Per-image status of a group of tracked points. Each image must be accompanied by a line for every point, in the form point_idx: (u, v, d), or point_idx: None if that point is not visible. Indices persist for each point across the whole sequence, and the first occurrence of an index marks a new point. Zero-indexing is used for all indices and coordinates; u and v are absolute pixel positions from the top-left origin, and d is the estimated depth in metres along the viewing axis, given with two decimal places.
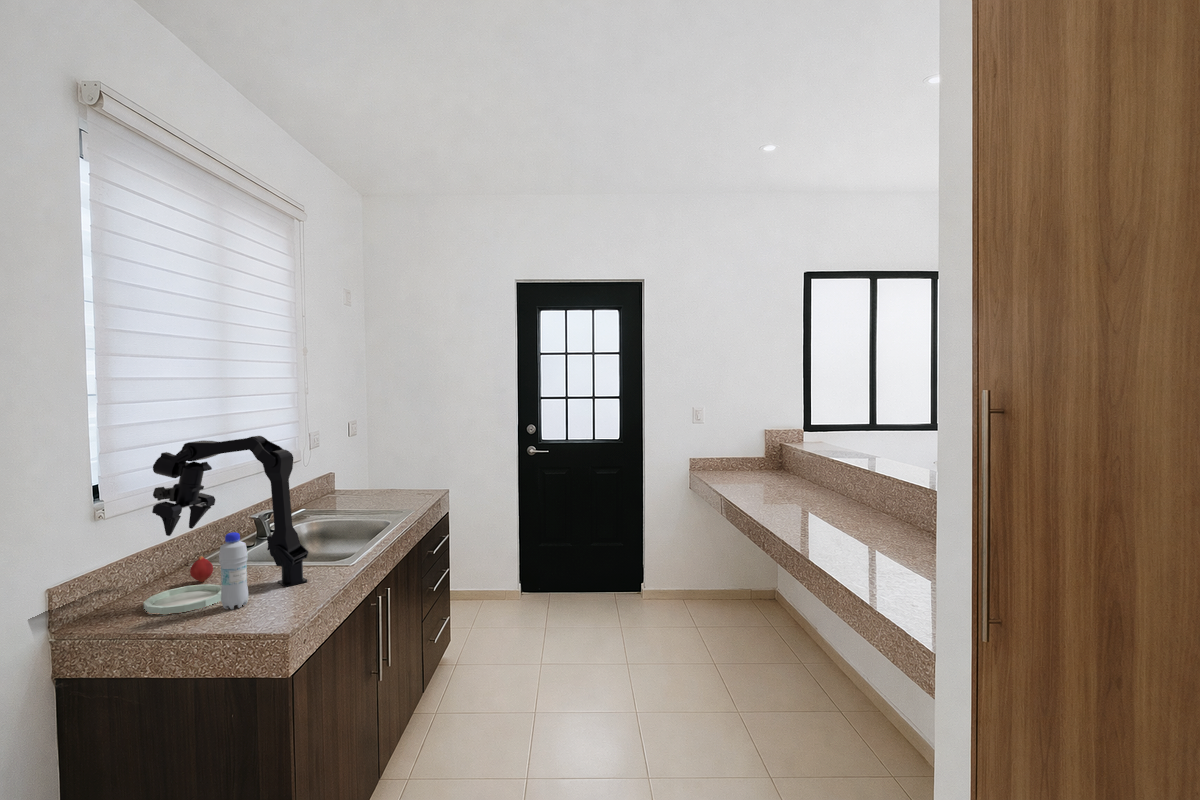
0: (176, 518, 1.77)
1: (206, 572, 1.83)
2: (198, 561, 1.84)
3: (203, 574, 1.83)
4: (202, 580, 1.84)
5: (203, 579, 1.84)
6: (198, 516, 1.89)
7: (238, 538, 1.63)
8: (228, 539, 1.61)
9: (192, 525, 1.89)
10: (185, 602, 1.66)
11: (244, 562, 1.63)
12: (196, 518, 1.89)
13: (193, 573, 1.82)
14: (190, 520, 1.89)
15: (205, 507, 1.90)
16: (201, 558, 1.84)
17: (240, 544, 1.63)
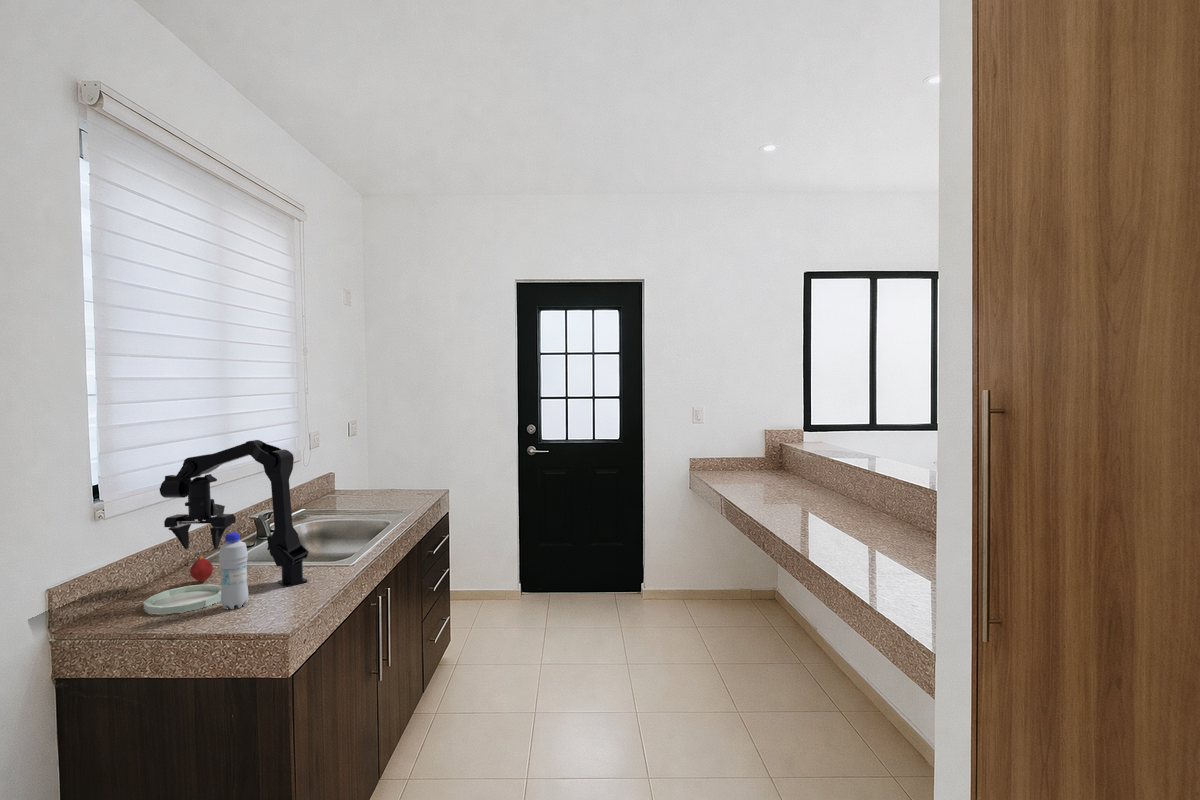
0: (172, 530, 1.82)
1: (206, 572, 1.83)
2: (198, 561, 1.84)
3: (203, 574, 1.83)
4: (202, 580, 1.84)
5: (203, 579, 1.84)
6: None
7: (238, 538, 1.63)
8: (228, 539, 1.61)
9: None
10: (185, 602, 1.66)
11: (244, 562, 1.63)
12: None
13: (193, 573, 1.82)
14: None
15: (214, 527, 1.82)
16: (201, 558, 1.84)
17: (240, 544, 1.63)
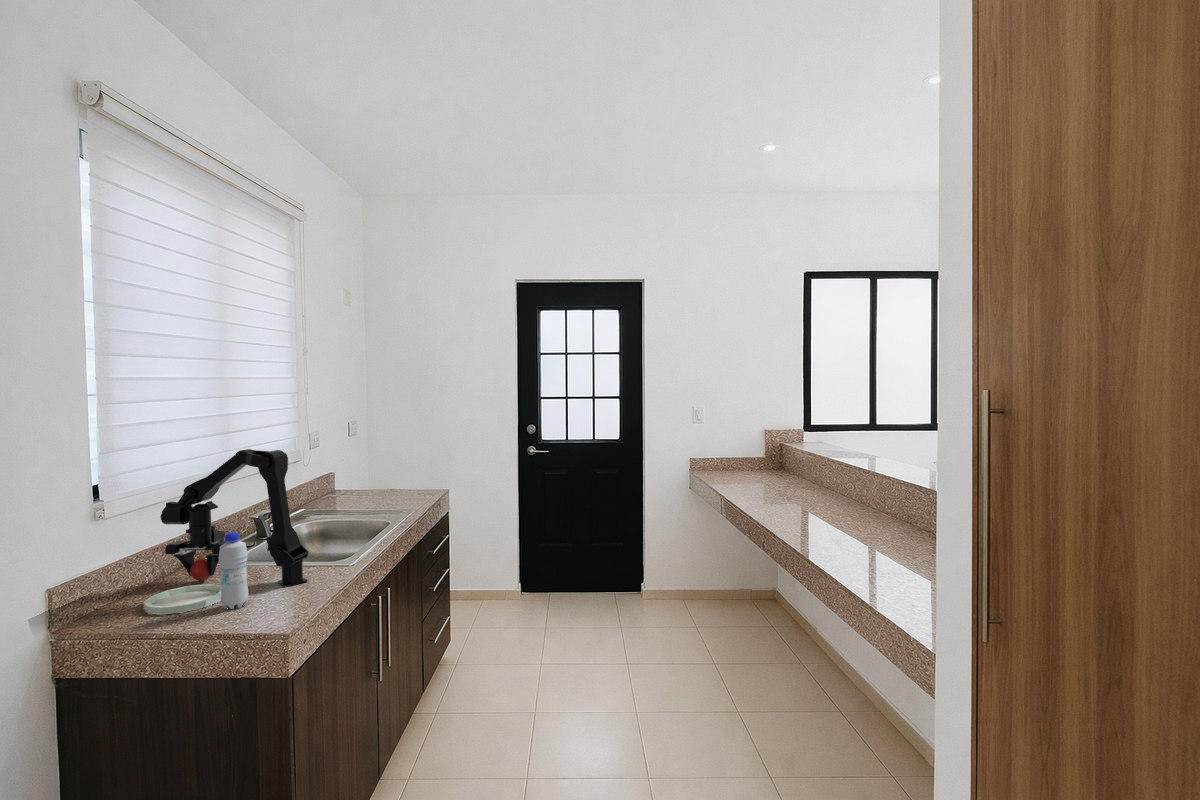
0: (177, 557, 1.82)
1: (206, 572, 1.83)
2: (198, 561, 1.84)
3: (203, 574, 1.83)
4: (202, 580, 1.84)
5: (203, 579, 1.84)
6: None
7: (238, 538, 1.63)
8: (228, 539, 1.61)
9: None
10: (185, 602, 1.66)
11: (244, 562, 1.63)
12: None
13: (193, 573, 1.82)
14: None
15: (210, 554, 1.82)
16: (201, 558, 1.84)
17: (240, 544, 1.63)
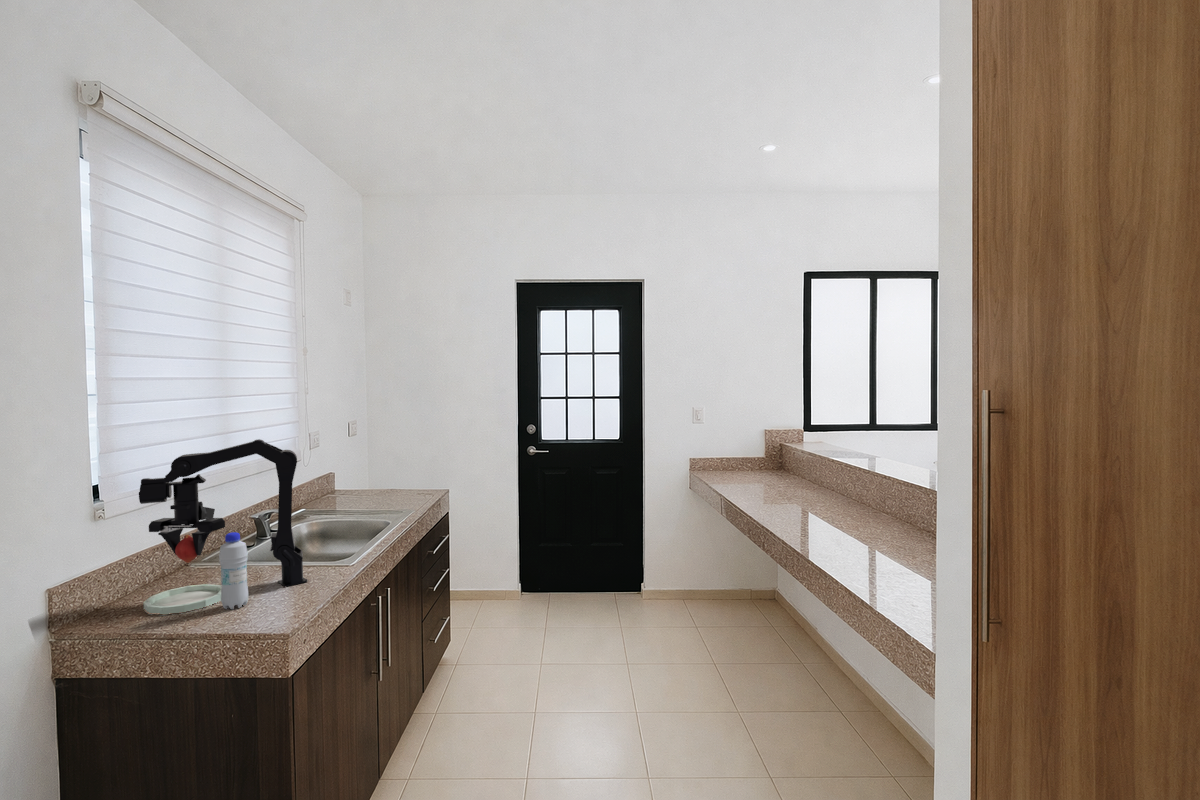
0: (162, 535, 1.69)
1: (192, 552, 1.69)
2: (184, 540, 1.70)
3: (189, 553, 1.69)
4: (188, 560, 1.70)
5: (189, 559, 1.70)
6: None
7: (238, 538, 1.63)
8: (228, 539, 1.62)
9: None
10: (185, 602, 1.66)
11: (244, 562, 1.63)
12: None
13: (178, 552, 1.68)
14: None
15: (196, 532, 1.68)
16: (187, 536, 1.71)
17: (241, 544, 1.63)
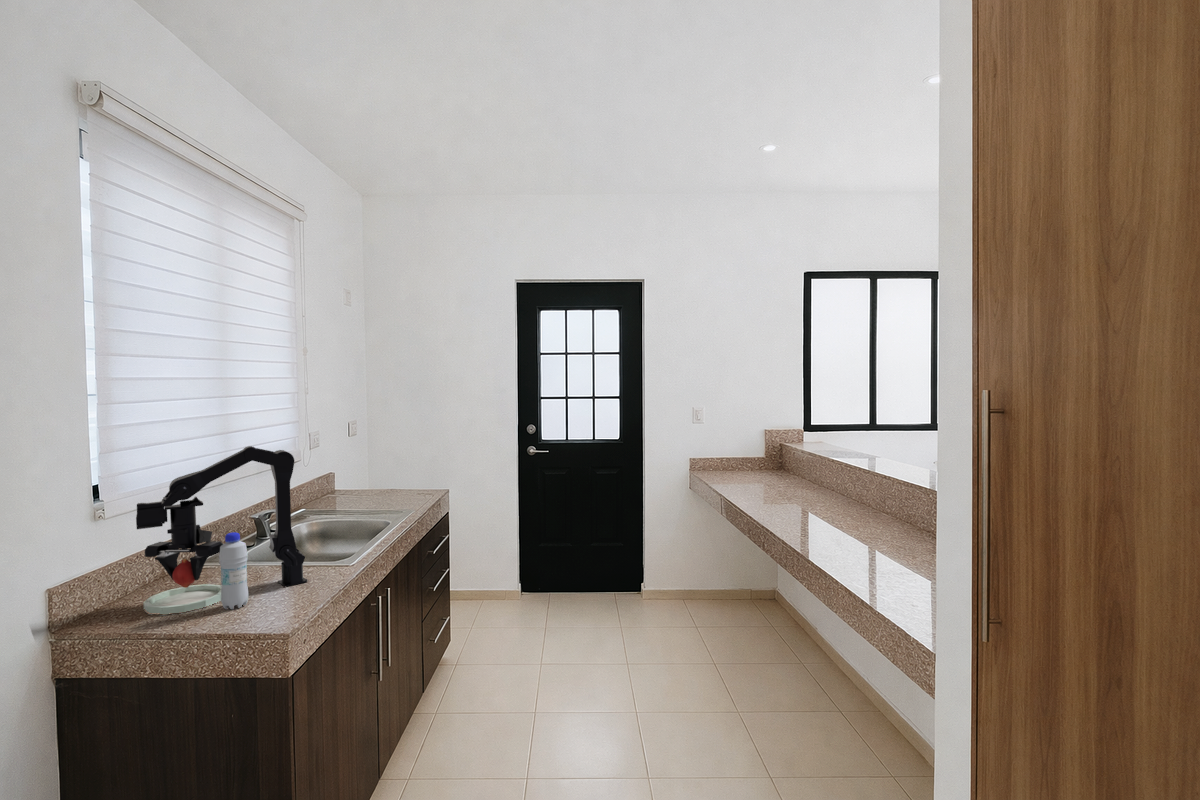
0: (158, 560, 1.65)
1: (190, 577, 1.66)
2: (181, 564, 1.66)
3: (186, 578, 1.65)
4: (186, 585, 1.66)
5: (187, 584, 1.66)
6: None
7: (238, 538, 1.63)
8: (228, 539, 1.61)
9: None
10: (185, 602, 1.66)
11: (244, 562, 1.63)
12: None
13: (176, 578, 1.64)
14: None
15: (194, 557, 1.65)
16: (185, 561, 1.67)
17: (240, 544, 1.63)
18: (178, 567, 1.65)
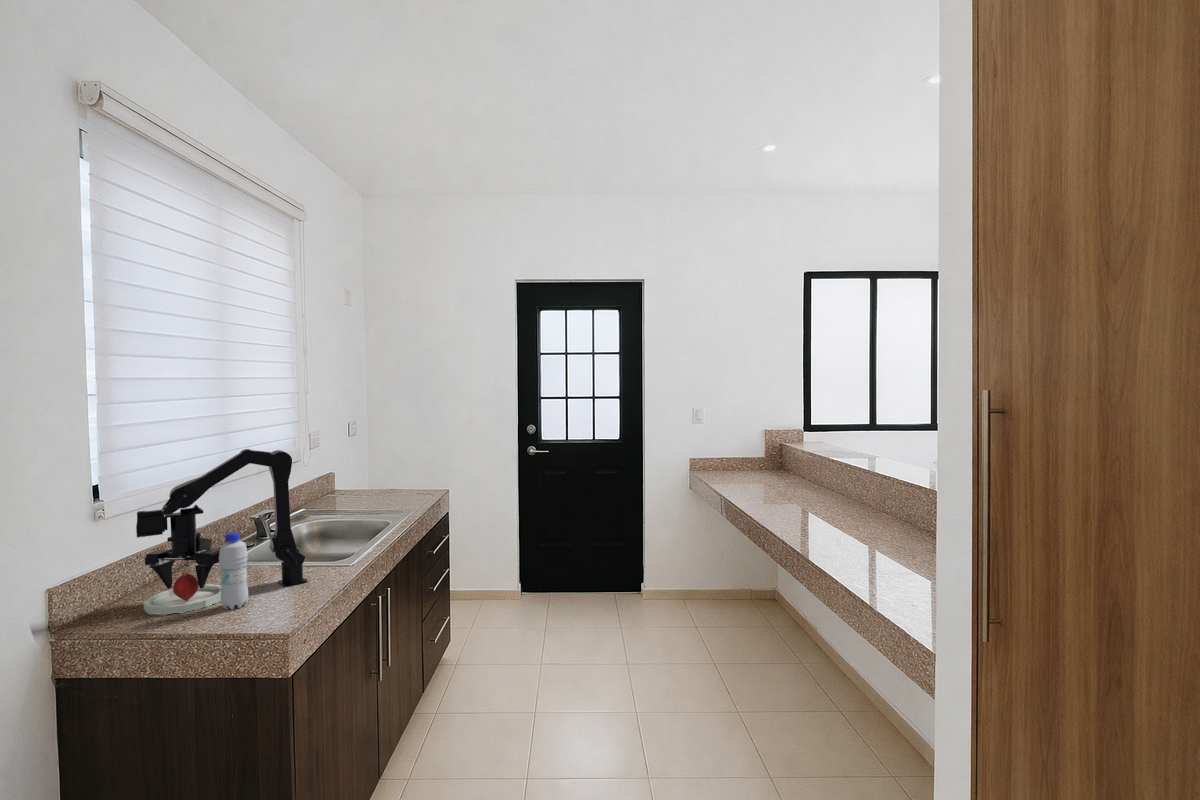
0: (153, 568, 1.65)
1: (190, 590, 1.66)
2: (182, 577, 1.66)
3: (187, 591, 1.65)
4: (186, 598, 1.66)
5: (187, 597, 1.66)
6: None
7: (238, 538, 1.63)
8: (228, 539, 1.62)
9: None
10: (185, 602, 1.66)
11: (244, 562, 1.63)
12: None
13: (176, 590, 1.65)
14: None
15: (200, 565, 1.65)
16: (185, 574, 1.67)
17: (240, 544, 1.63)
18: (179, 580, 1.66)
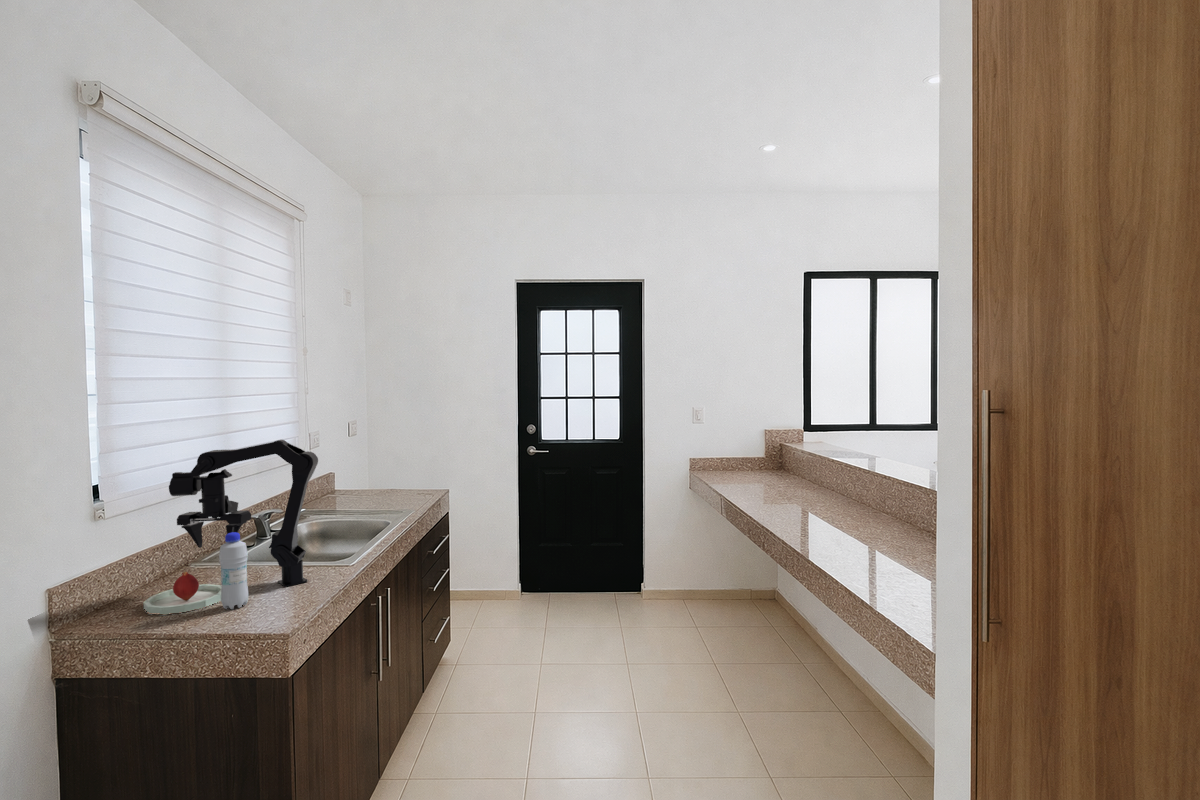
0: (185, 528, 1.75)
1: (190, 590, 1.66)
2: (182, 577, 1.66)
3: (187, 591, 1.65)
4: (186, 598, 1.66)
5: (187, 597, 1.66)
6: None
7: (238, 538, 1.63)
8: (228, 539, 1.62)
9: None
10: (185, 602, 1.66)
11: (244, 562, 1.63)
12: None
13: (176, 591, 1.65)
14: None
15: (230, 524, 1.76)
16: (185, 574, 1.67)
17: (240, 544, 1.63)
18: (179, 580, 1.65)
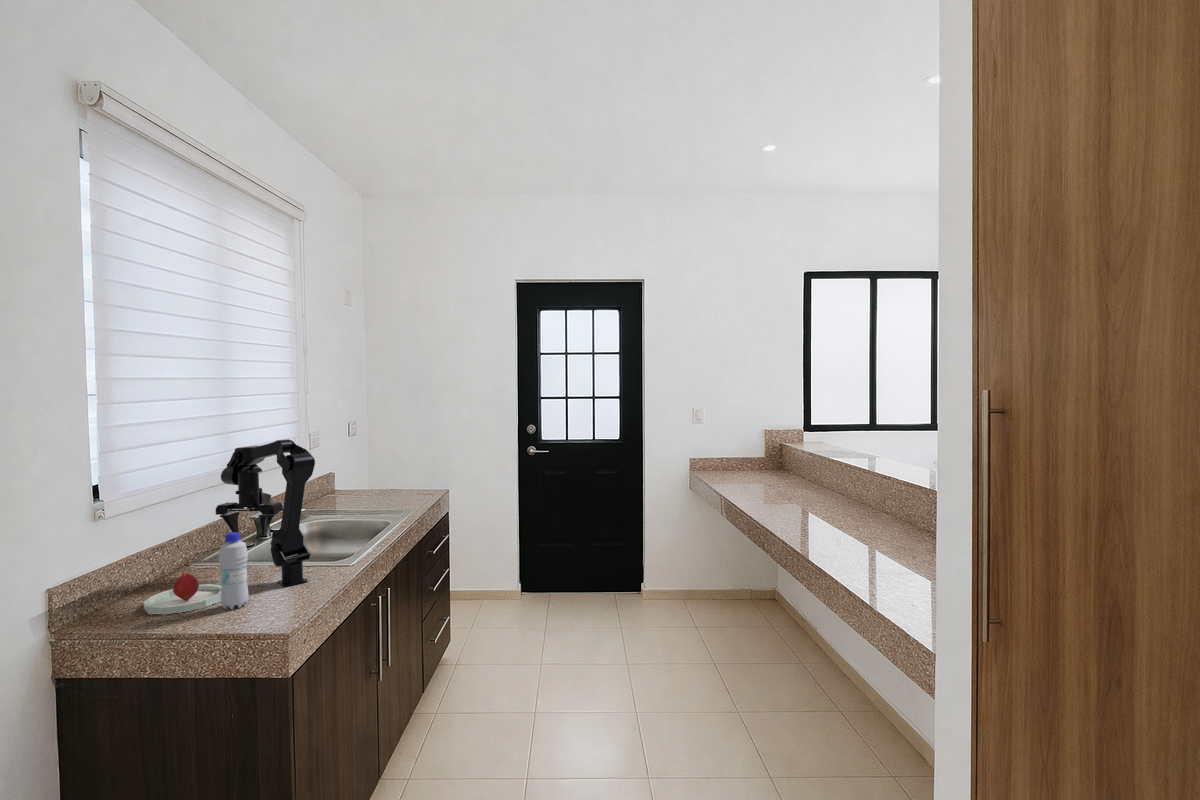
0: (223, 517, 1.90)
1: (190, 590, 1.66)
2: (182, 577, 1.66)
3: (187, 591, 1.65)
4: (186, 598, 1.66)
5: (187, 597, 1.66)
6: None
7: (238, 538, 1.63)
8: (228, 539, 1.61)
9: None
10: (185, 602, 1.66)
11: (244, 562, 1.63)
12: None
13: (176, 591, 1.65)
14: None
15: (263, 515, 1.90)
16: (185, 574, 1.67)
17: (240, 544, 1.63)
18: (179, 580, 1.65)
